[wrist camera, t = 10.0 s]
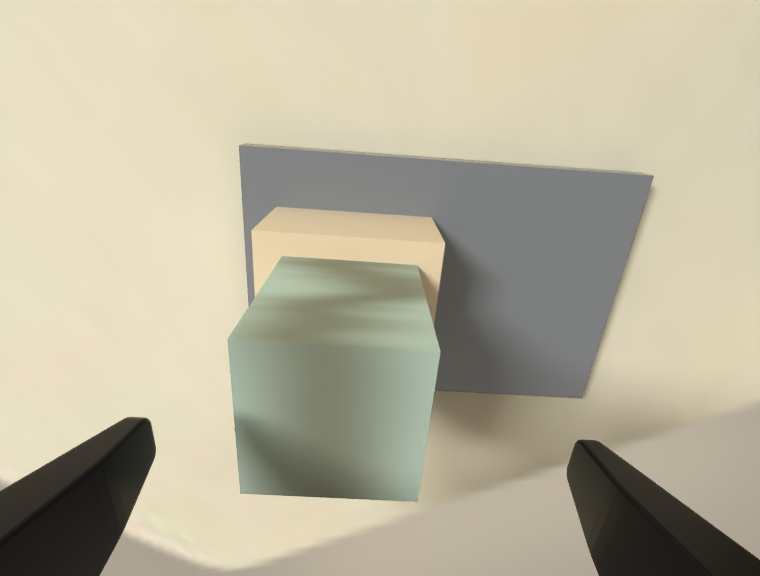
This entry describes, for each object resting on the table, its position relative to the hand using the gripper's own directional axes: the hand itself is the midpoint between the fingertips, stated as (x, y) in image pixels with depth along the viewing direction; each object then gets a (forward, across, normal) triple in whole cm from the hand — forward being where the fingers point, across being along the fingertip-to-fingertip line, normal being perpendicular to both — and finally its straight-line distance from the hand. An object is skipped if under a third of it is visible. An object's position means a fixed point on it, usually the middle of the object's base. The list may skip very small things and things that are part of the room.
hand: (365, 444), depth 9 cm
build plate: (+13, -3, +1) cm, 13 cm away
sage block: (+8, +1, +1) cm, 8 cm away
